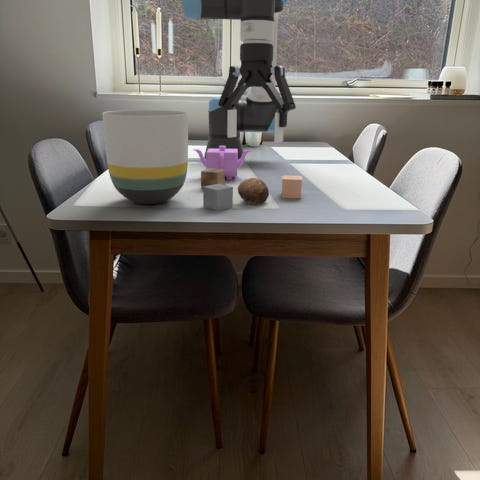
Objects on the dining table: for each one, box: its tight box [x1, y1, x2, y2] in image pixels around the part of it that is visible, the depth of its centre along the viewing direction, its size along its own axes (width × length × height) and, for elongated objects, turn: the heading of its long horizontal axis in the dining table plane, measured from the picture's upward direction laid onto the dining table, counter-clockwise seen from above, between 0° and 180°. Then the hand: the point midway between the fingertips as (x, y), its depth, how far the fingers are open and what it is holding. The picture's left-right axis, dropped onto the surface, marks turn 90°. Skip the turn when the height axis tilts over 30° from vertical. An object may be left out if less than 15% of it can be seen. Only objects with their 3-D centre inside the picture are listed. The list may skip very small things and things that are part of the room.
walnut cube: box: [200, 168, 226, 190], centre depth 129 cm, size 5×5×5 cm
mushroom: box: [237, 177, 270, 206], centre depth 115 cm, size 8×8×6 cm
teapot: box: [192, 146, 252, 181], centre depth 142 cm, size 18×13×10 cm
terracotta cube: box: [281, 174, 303, 199], centre depth 122 cm, size 5×5×5 cm
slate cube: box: [202, 184, 234, 212], centre depth 110 cm, size 5×5×5 cm
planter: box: [101, 109, 189, 205], centre depth 111 cm, size 20×20×21 cm
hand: (254, 139), depth 110 cm, fingers open, 13 cm apart
